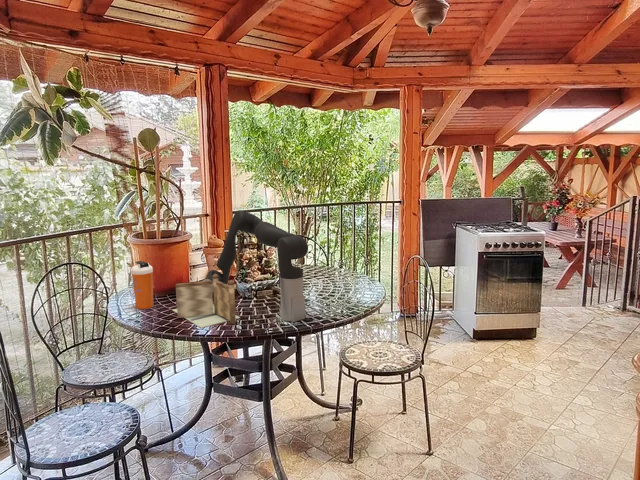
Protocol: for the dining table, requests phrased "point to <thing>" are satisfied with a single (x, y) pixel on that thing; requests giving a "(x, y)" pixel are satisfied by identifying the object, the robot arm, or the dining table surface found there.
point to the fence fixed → (224, 299)
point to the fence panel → (194, 298)
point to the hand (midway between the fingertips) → (187, 302)
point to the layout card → (206, 319)
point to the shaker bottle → (143, 284)
